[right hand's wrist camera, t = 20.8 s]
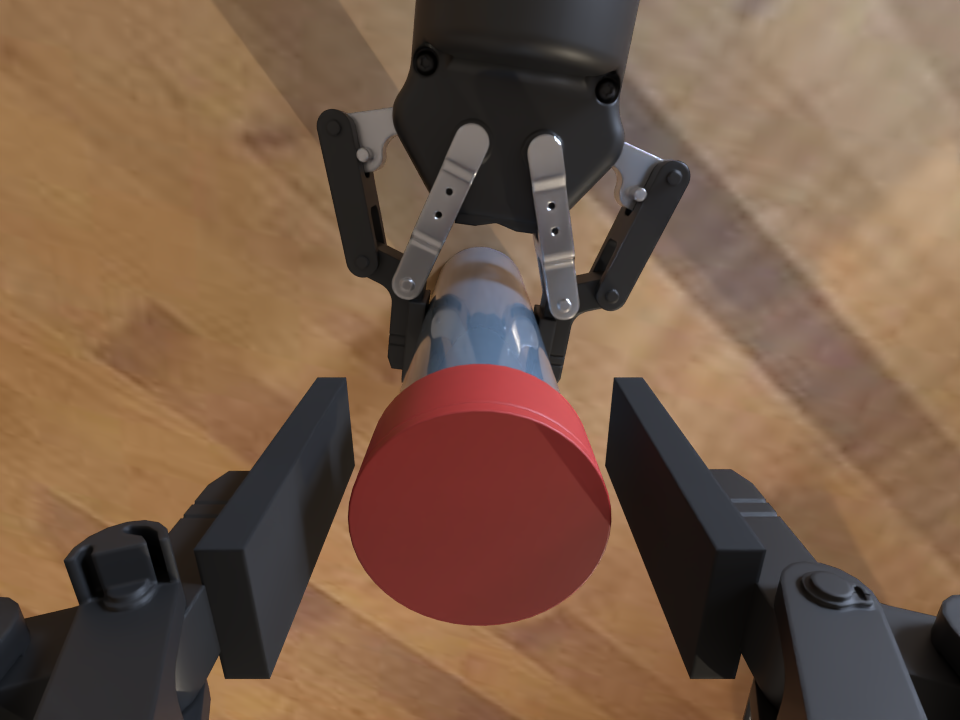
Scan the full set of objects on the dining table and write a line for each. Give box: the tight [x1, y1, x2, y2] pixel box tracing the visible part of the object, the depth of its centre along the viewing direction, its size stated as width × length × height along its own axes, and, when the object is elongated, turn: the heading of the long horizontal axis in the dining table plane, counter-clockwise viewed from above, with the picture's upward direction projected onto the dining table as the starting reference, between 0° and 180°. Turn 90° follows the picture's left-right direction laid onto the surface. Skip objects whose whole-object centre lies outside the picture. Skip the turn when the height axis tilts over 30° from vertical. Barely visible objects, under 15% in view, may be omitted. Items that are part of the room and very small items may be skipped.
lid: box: [348, 364, 611, 626], centre depth 12 cm, size 5×5×2 cm
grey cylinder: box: [399, 247, 560, 394], centre depth 20 cm, size 5×5×18 cm
